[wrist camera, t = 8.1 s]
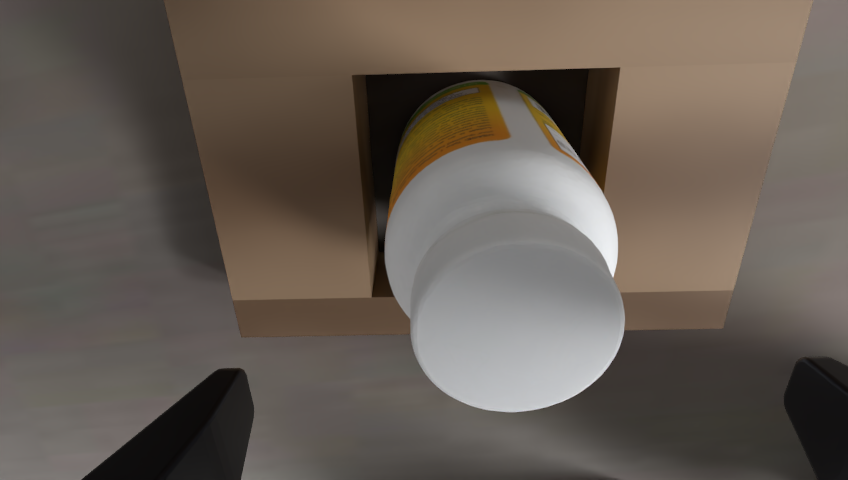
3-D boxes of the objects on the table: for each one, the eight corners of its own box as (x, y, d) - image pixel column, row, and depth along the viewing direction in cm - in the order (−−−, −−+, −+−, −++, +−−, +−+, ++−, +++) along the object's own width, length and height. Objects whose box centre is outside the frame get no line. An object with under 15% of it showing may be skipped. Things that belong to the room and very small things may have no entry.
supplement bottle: (382, 211, 20) (347, 415, 11) (417, 58, 17) (406, 170, 9) (527, 242, 20) (599, 460, 12) (581, 99, 18) (721, 242, 9)
